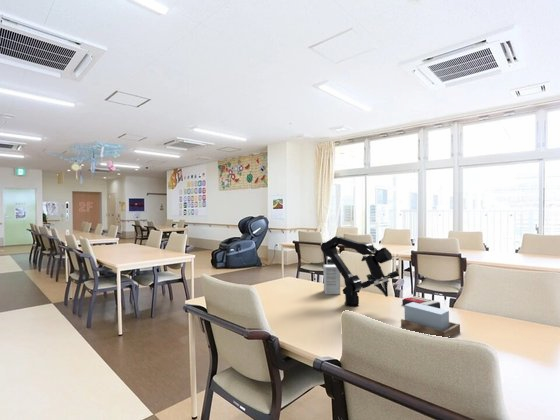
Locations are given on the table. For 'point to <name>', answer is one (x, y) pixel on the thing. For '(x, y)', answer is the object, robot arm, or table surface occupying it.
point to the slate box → (427, 316)
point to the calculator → (421, 301)
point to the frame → (448, 332)
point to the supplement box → (331, 279)
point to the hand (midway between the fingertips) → (386, 296)
